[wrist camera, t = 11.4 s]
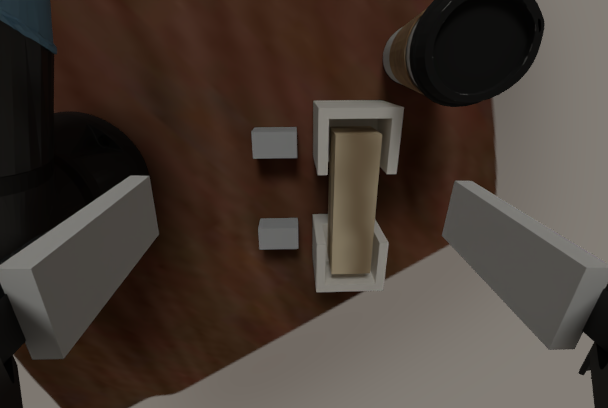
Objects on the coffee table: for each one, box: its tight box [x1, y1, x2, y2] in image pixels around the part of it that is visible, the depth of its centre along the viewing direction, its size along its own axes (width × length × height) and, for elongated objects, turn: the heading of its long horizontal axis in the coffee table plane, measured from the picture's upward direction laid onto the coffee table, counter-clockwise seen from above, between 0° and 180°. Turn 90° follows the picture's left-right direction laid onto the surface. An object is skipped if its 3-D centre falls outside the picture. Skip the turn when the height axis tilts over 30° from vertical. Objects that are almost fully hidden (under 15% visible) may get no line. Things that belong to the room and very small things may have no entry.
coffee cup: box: [383, 0, 544, 107], centre depth 28 cm, size 8×8×15 cm
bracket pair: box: [312, 100, 404, 292], centre depth 37 cm, size 8×21×8 cm, turn 0°
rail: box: [327, 126, 382, 274], centre depth 36 cm, size 4×16×5 cm, turn 1°
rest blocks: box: [251, 127, 298, 250], centre depth 39 cm, size 5×15×3 cm, turn 0°
